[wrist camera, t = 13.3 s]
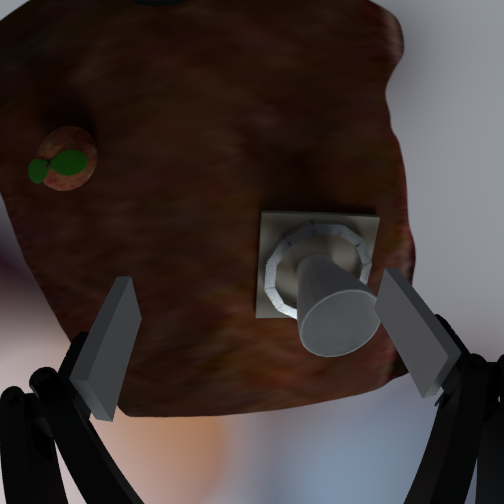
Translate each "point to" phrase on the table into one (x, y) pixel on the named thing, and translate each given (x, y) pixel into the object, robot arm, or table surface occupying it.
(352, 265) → the board
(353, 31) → the table surface
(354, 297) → the cup
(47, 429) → the robot arm
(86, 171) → the fruit
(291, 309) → the ring collar
